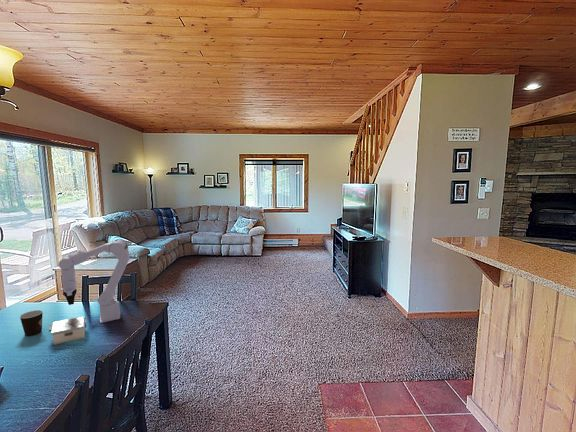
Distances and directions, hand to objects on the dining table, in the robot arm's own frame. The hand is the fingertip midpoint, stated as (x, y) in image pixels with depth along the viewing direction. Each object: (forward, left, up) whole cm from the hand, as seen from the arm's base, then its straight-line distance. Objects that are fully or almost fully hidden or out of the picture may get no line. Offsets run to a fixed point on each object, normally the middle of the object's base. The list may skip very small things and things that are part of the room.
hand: (71, 304), depth 159 cm
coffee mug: (+15, +1, -11) cm, 18 cm away
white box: (+1, +15, -10) cm, 18 cm away
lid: (+2, +15, -5) cm, 16 cm away
